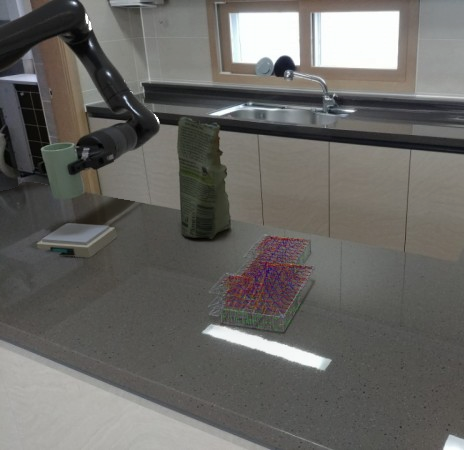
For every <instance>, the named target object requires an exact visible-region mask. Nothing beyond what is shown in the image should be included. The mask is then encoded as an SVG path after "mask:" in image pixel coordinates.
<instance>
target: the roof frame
mask: <svg viewBox="0 0 464 450" xmlns="http://www.w3.org/2000/svg"><path fill="white" fill-rule="evenodd" d="M291 251H292V252H291ZM311 253H312V239H311V238H310V239H309V238H299V237H297V238H296V237H285V236H278V235H277V236H274V235H271V234H264V233H263V234H262V235H261V236H260V237H259V238H258V240H257V241H256V242H255V243H254V244H253V245H252V246H251V248H249V250H248V251H247V252H246V253H245V254H244V255H243V258H244V259H248V260H246V262H245V263H244V264H243V265H242V266H241V267H240V269H239V270H238V271H237V272H236V273H234V272H225V273H224V274H223V275H222V276H221V277H220V278H219V280H218V281H217V282H215V284H214V285H213V286H212V287H211V288H210V289H209V291H208V292H207V293H208V294H212V295H216V297H215V298H214V299H213V300H212V301H210V303H209V304H208V306H207V308H209V309H212V310H210V312H209V313H208V316H211V317H217V318H220V321H221V324H226V325H227V324H228V325H235V326H239V325H240V326H241V327H247V328H248V327H249V328H255V329H260V330H261V329H262V330H267V331H273V330H274V331H275V332H282V333H284V332H285V331H286V330H287V328H288V326H289V325H290V323H291V321H292V319H293V317H294V316H295V314H296V312H297V310H298V309H299V307H300V306H301V304H302V296H301V295H302V293H301V292H302V291H303V290H304V288H305V286H306V284H307V283H308V281H309V279H310V278H311V276H312V275H313V273H314V271H315V270H316V266H315V265H308V264H306V265H305V262H306V261H307V259H308V258H309V256H310V255H311ZM288 254H289V255H288ZM251 259H252V260H251ZM244 267H245V268H244ZM306 272H307V273H308V274H307V273H306ZM298 273H299V274H298ZM301 274H302V275H301ZM304 276H305V277H304ZM293 280H294V281H293ZM300 284H301V285H300ZM274 285H276V286H274ZM297 287H299V288H297ZM214 291H215V292H214ZM278 291H279V292H278ZM217 292H218V293H217ZM280 292H281V293H280ZM266 295H267V296H266ZM279 296H281V297H280V298H279ZM270 298H271V300H272V301H271V300H268V299H270ZM275 300H277V301H275ZM280 301H281V302H282V303H281V302H280ZM286 301H288V302H286ZM289 302H291V303H289ZM270 303H271V305H270ZM296 303H298V305H297V306H296ZM274 304H276V306H275V307H274ZM284 305H287V306H288V307H286V306H284ZM230 307H231V308H230ZM234 308H236V309H234ZM216 309H217V310H216ZM241 309H242V310H241ZM282 309H283V310H284V309H285V310H286V311H283V310H282ZM213 311H214V312H213ZM266 311H267V312H271V314H265V313H266ZM278 312H279V314H280V315H278V316H277V313H278ZM216 313H217V314H216ZM273 313H274V315H272V314H273ZM288 314H289V315H291V317H289V320H288V321H287V318H286V316H287V315H288ZM231 315H232V316H231ZM238 315H239V316H238ZM245 316H246V319H245ZM265 316H266V317H265ZM268 316H269V317H271V318H269V320H267V318H268ZM232 317H233V319H232ZM240 319H241V322H242V324H241V323H240ZM261 319H262V323H263V325H264V327H263V326H262V325H261V326H260V325H259V321H260V320H261ZM264 319H265V320H266V321H265V320H264ZM225 320H226V321H225ZM233 320H234V323H233ZM271 320H278V322H282V323H278V326H282V328H275V325H274V324H275V323H274V321H272V322H271ZM236 322H238V323H236ZM250 324H252V325H250ZM265 324H266V325H265ZM269 327H270V328H269Z"/></svg>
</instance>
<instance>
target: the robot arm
mask: <svg viewBox="0 0 464 450" xmlns="http://www.w3.org/2000/svg"><path fill="white" fill-rule="evenodd" d="M56 37H58V38H60V39H61V40H62V41H63V43H64V44H65V45H66V46H67V47H68V48H69V50H71V51H72V52H73V53H74V55H75V56H76V57H77V58H78V60H79V61H80V63H81V64H82V66H83V67H84V69H85V70H86V72H87V74H88V76H89V78H90V80H91V81H92V83H93V85H94V87H95V88H96V90H97V91H98V93H99V94H100V97H101V98H102V100H103V101H104V103H105V104H106V105H107V107H108V109H109V110H110V111H111V112H112V114H114V115H122V114H125V113H127V112H129V113H130V114H131V116H130V117H129V118H128V119H127V120H126V121H125V122H116V123H114V124H112V125H109V126H106V127H102V128H99V129H96V130H95V131H92V132H90V133H87V134H85V135H83V136H81V137H80V138H79V139H78V140H77V142H76V144H75V147H76V152H77V156H78V160H76V161H74V162H72V163H70V164H68V171H69V174H70V175H75V174H77V173H79V172H81V173H82V171H89V170H90V169H92V170H94V171H98V170H99V169H101V168H104V167H106V166H108V165H110V164H113V163H114V162H115V161H116V160H118V159H119V158H120V157H121V156H123V155H125V154H126V153H128V152H131V151H136V150H138V149H140V148H141V147H142V146H144V145H145V144H147V142H149V141H150V140H151V139H152V138H154V137H155V136H156V135H158V133H159V132H160V130H161V123H160V120H159V118H158V116H157V115H156V114H155V113H154V112H153V111H152V110H151V109H149V108H148V107H147V106H146V105H145V104H144V103H143V102H142V101H141V100H140V99H139V98H138V97H137V96H136V95H135V94H134V92H133V90H132V89H131V87H130V86H129V85H128V83H127V82H126V80H125V78H124V77H123V75H122V74H121V72H119V70H118V69H117V67H116V66H115V65H114V64H113V62H112V61H111V60H110V59H109V57H108V56H107V54H106V53H105V52H104V50H103V48H102V46H101V44H100V43H99V41H98V38H97V36H96V33H95V32H94V29H93V27H92V22H91V19H90V16H89V14H88V12H87V10H86V7H85V6H84V4H83V3H82V1H81V0H49V1H47V2H45V3H44V4H42V5H40V6H39V7H37V8H34V9H33V10H31V11H30V12H28V13H26V14H24V15H22V16H20V17H18V18H16V19H13V20H10V21H8V22H6V23H3V24H1V25H0V73H2V72H4V71H6V70H9V69H10V68H12V67H14V66H15V65H16V64H17V63H19V61H21V60H22V59H23V58H24V57H25V56H26V55H27V54H28V53H29V52H30V51H31V50H33V48H35V47H36V46H38V45H39V44H42V43H44V42H46V41H48V40H51V39H54V38H56ZM42 158H43V156H42ZM37 169H38V173H39V174H40V175H45V174H47V172H46V168H45V164H44V160H43V159H42V161H41V162H38V163H37Z"/></svg>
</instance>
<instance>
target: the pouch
mask: <svg viewBox="0 0 464 450" xmlns="http://www.w3.org/2000/svg"><path fill="white" fill-rule="evenodd" d="M177 125H178V126H177V127H178V129H177V143H176V145H177V146H176V150H177V158H178V159H177V160H178V178H179V209H180V221H181V226H180V228H181V233H182V234H183V235H184V236H185V237H188V238H193V239H195V238H208V239H210V240H213V238H214V237H215V236H216V235H217V234H218V233H220V232H223V231H225V230H232V227H231V225H232V222H231V221H232V218H231V212H230V207H231V206H230V200H229V195H228V193H227V191H226V180H225V179H226V178H227V177H228V172H227V170H228V168H227V166H226V165H225V164H222V161H221V156H223V153H224V151H223V150H221V149H220V140H221V137H220V136H219V134H220V130H221V129H220V128H221V125H220V124H218V123H217V122H212V123H210V124H209V123H207V122H204V123H200V117H198V118H197V120H193V119H192V118H190V117H187V116H182V117H179V120H178V121H177Z"/></svg>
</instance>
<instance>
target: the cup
mask: <svg viewBox="0 0 464 450" xmlns="http://www.w3.org/2000/svg"><path fill="white" fill-rule="evenodd" d="M40 151H41V155H42V156H43V157H42V161H43V160H44V164H45V168H46V172H47V173H46V176H47V180H48V185H49V187H50V188H49V189H50V192H51V195H52V198H53V199H55V200H69V199H74V198H78V197H80V196H83V195H84V194H85V192H86V190H85V183H84V180H83V175H82V171H81V172H79V173H77V174H75V175H70V174H69V171H68V164H70V163H72V162H74V161H76V160H78V156H77V152H76V144H75V143H73V142H57V143H51V144H48V145H45V146H43V147H41V148H40Z"/></svg>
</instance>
